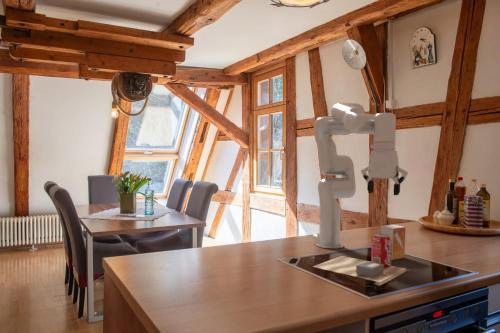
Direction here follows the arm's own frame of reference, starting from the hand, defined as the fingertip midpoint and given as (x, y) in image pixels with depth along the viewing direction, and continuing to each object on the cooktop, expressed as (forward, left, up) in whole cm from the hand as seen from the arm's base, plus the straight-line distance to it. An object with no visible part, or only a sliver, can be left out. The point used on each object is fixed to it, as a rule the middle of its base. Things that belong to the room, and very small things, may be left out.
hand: (383, 193), depth 149 cm
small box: (-5, +22, -28) cm, 36 cm away
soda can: (0, 0, -27) cm, 27 cm away
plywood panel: (-6, -6, -28) cm, 30 cm away
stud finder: (0, -10, -27) cm, 29 cm away
